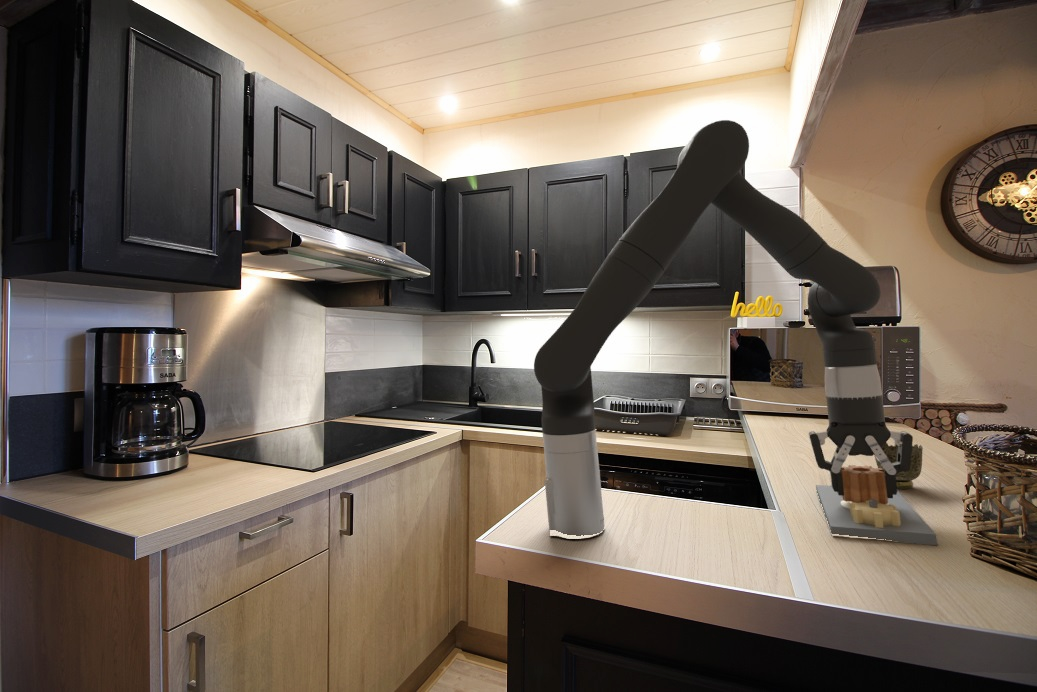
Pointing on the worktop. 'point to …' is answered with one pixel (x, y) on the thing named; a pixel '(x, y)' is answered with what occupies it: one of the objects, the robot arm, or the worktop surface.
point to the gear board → (875, 518)
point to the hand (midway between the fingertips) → (864, 495)
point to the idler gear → (864, 484)
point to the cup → (904, 477)
